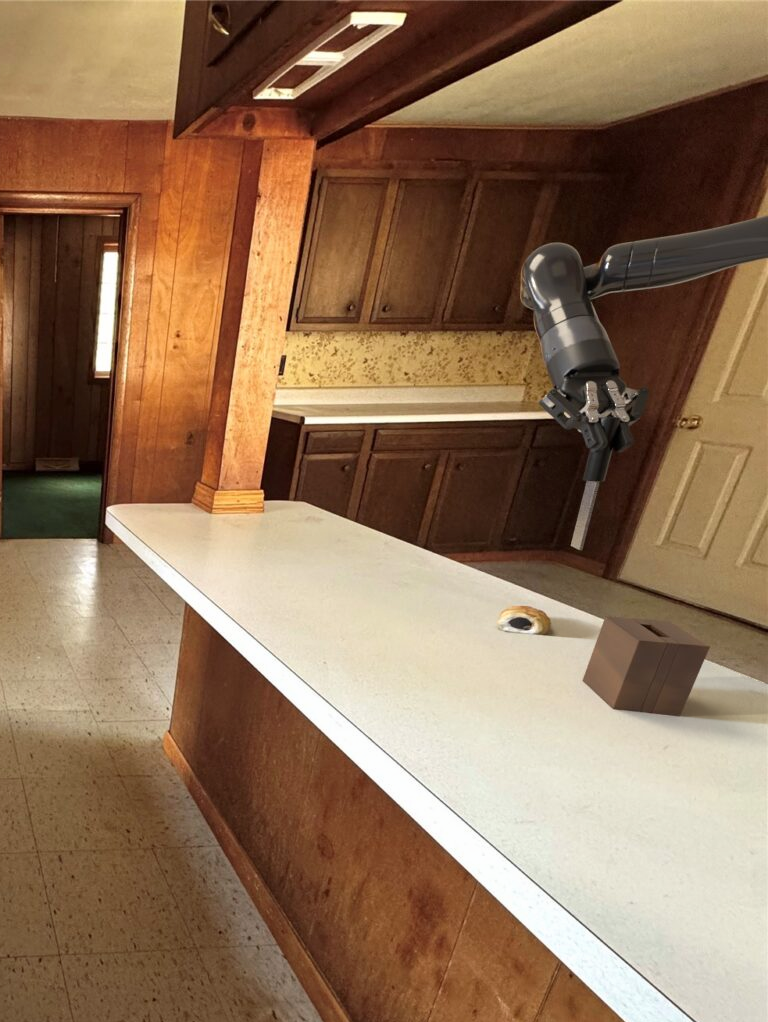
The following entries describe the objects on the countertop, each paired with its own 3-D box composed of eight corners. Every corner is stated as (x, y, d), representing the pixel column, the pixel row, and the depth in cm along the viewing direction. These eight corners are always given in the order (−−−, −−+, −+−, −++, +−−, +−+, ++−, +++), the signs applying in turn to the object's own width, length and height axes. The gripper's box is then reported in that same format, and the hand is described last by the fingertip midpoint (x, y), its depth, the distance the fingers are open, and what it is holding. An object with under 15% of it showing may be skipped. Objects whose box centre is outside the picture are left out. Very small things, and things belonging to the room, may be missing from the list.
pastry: (506, 613, 118) (512, 593, 117) (554, 624, 113) (561, 603, 112) (493, 629, 112) (499, 608, 111) (543, 641, 108) (551, 620, 106)
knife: (582, 546, 101) (614, 417, 96) (590, 550, 99) (625, 417, 93) (562, 545, 102) (593, 417, 96) (570, 549, 100) (603, 418, 94)
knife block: (641, 692, 92) (669, 620, 88) (677, 722, 85) (710, 646, 81) (579, 686, 94) (605, 616, 90) (610, 715, 87) (639, 640, 83)
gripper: (543, 338, 98) (576, 433, 92) (649, 334, 96) (691, 431, 90) (511, 374, 105) (540, 464, 99) (610, 371, 103) (646, 463, 97)
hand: (612, 448), depth 94 cm, fingers closed on knife, 2 cm apart
